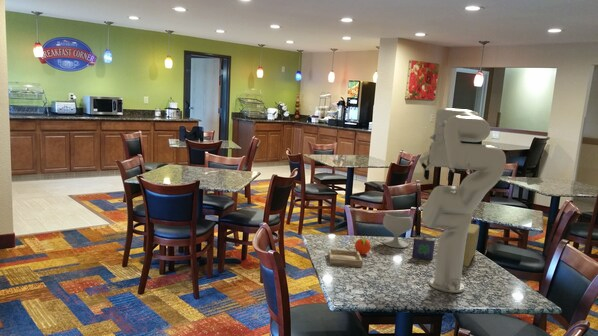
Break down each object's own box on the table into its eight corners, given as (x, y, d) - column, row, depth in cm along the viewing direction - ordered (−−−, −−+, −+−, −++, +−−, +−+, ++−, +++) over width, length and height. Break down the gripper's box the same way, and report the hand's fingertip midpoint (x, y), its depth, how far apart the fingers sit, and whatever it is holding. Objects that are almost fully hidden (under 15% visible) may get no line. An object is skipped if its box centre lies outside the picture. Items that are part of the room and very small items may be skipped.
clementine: (371, 257, 203) (372, 241, 202) (355, 256, 203) (356, 240, 203) (368, 252, 211) (370, 236, 210) (353, 250, 211) (354, 235, 210)
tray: (362, 267, 190) (362, 261, 190) (330, 264, 190) (330, 258, 189) (357, 256, 203) (358, 251, 203) (328, 254, 203) (328, 249, 202)
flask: (432, 258, 209) (434, 235, 208) (433, 260, 206) (436, 237, 205) (411, 256, 209) (413, 233, 208) (412, 258, 207) (415, 235, 205)
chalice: (405, 251, 217) (408, 219, 215) (376, 244, 224) (379, 214, 222) (413, 244, 229) (417, 214, 227) (386, 238, 236) (389, 209, 234)
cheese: (478, 269, 200) (482, 235, 198) (454, 265, 202) (458, 231, 201) (475, 254, 220) (479, 224, 219) (454, 251, 223) (457, 220, 221)
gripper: (424, 138, 188) (419, 180, 190) (467, 141, 189) (461, 183, 191) (419, 137, 196) (415, 177, 198) (460, 140, 196) (455, 180, 198)
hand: (438, 180), depth 194 cm, fingers open, 9 cm apart
